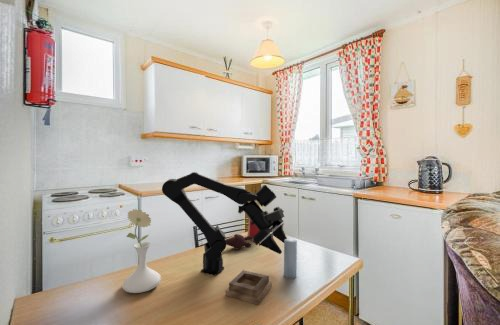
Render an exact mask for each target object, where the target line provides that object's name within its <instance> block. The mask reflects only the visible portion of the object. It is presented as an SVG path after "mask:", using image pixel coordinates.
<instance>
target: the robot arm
mask: <svg viewBox="0 0 500 325" xmlns="http://www.w3.org/2000/svg"><path fill="white" fill-rule="evenodd" d="M192 185H196V186H199V187H201V188H205V189H207V190H210V191H213V192H216V193H218V194H221V195H223V196H225V197H227V198H229V199H230V200H231V201H233V202H234V203H236V204H238V211H237V213H238V214H242V213H243V212H244V213H245V215H246V216H247V217H248V218H250V219H251V221H252V223H251V224H252V225H254V224H255V226H256V227H257V228H258V229H259V230H260V231H259V232H258V233H257V234H256V235H255V236H254V237H253V240H252V241H253V243H254V244H255V245H256V246H257V245H258V246H262V247H264V248H266V249H269V250H271V251H273V252H275V253H276V254H279V255H281V254H282V253H283V251H282V249H281V248H280V246H279V245H278V244H277V242H276V240H275V239H274V238H276V239H277V240H279V241H280V242H282V244H284V240H285V239H288V237H287V236H286V233H285V231H284V225H285V223H284V219H283V218H285V215H284V212H285V211H284V210H283V208H281V207H279V206H276V207H274V208H273V211H271V212H268V211H267V210H265V211H264V210H263V208H262V209H261V208H260V207H259V206H258V204H257V203H256V202H255V201H257V202H258V203H259V204H260V206H261V207H265V208H266V207H268V206H269V205H270V204H271V203H272V202H273V201H274V200H276V198H277V195H276V193H274V191H272V190H271V189H270V188H269V187H268V186H267V184H263V185H262V186H261V187H260V188H259V189H258V190H257V191H256V192H255V193H254V192H252V191H248V190H247V189H246V188H244V187H241V186H236V185H229V184H225V183H222V182H220V181H218V180H215V179H212V178H210V177H208V176H205V175H202V174H199V173H198V172H196V171H194V172H193V171H192V172H191V173H189V174H187V175H184V176H181V177H180V178H177V179H176V178H170V179H168V180H166V181H165V182H164V183H162V186H161V187H162V188H161V192H162V194H163V195H164V196H165V197H166V198H168V199H169V200H171V201H172V202H174V203H175V204H177V205H178V207H180V208H181V209H182V210H183V212H184V213H185V215H187V216H188V218H189V219H190V220H191V222H193V224H194V225H195V226H196V227H197V228H198V229H199V230H200V232H201V233H202V234H203V236H204V238H205V240H206V243H204V247H203V248H204V253H203V255H202V256H203V257H202V269H201V270H200V273H202V274H206V275H210V276H216V275H218V274H219V273H220V272H222V271H223V270H224V269H225V266H224V258H223V252H224V251H225V250H226V248H227V245H226V244H227V243H226V239H227V237H226V234H225V232H224V231H222V229H220V227H219V225H216V226H213V225H212V224H210V222H209V221H208V220H207V219H206V218H205V216H204V215H203V214H202V213H201V211H200V210H199V209H198V208H197V206H195V204H194V203H193V202H192V200H190V198H188V195H187V193H186V192H185V190H184V189H186V188H189V187H191V186H192Z"/></svg>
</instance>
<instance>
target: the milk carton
mask: <svg viewBox="0 0 500 325" xmlns="http://www.w3.org/2000/svg"><path fill="white" fill-rule="evenodd" d="M255 202H256V203H257V204H258V206H259V207H260V208H261V209H262V210H263V208H262V207H263V206H262V207H261V206H260V204H259V203H258V202H257V201H255ZM248 218H249V217H248ZM251 223H252V221H251V219H250V218H249V219H248V228H247V236H252V237H254V236H255V235H256V234H257V233H258V232H259V231H260V230H259V229H258V228H257V227H256V226H255V224H254V225H252V224H251ZM247 236H246V237H247ZM251 241H253V239H252V240H251Z"/></svg>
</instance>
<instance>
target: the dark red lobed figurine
mask: <svg viewBox="0 0 500 325" xmlns="http://www.w3.org/2000/svg"><path fill="white" fill-rule="evenodd" d="M252 239H253V237H252V236H245V237H244V235H242V234H237V233H235V234H233V236H232V237H229V238H225V240H226V243H227V244H226V246H229V247H232V248H234V249H235V251H236V250H240V249H242V248H244V247H246V248H251V247H252V243H250V242H251V241H253V240H252ZM249 241H250V242H249Z"/></svg>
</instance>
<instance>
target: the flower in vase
mask: <svg viewBox="0 0 500 325" xmlns="http://www.w3.org/2000/svg"><path fill="white" fill-rule="evenodd" d="M149 216H150V214H148V213H147V212H145V211H143V210H142V209H139V210H138V209H137V208H134V209H132V210H129V211H128V212H127V219H129V221H130V222H131V223H132V224H133V225H134V226H135V228H134V233H132V232H128V234H127V235H126V238H130V239H132V240H135V239H136V240H137V243H134V244H133V248H134V249H135V251H136V253H137V260H138V261H137V262H138V265H137V267H136V269H135V270H134V271H133V272H132V273H131V274H129V275H128V276H127V277H126V278H125V279H124V280H123V283H122V285H121V286H122V289H123V290H124V291H125V292H126V293H130V294H140V293H145V292H149V291H150V290H152V289H154V288H156V287H157V286H158V285H160V282H161V281H162V276H161V274H160V273H158V272H157V271H156V270H154V269H152V268H150V267H149V266H148V265H147V253H148V249H149V247H150V246H151V242H150V241H144V240H145V239H147V238H148V237H149V234H147V235H144V236H142V237H141V238H140V239H139V238H138V236H137V233H136V232H137V229H138V228H137V227H139V228H145V227H150V226H151V223H152V222H151V221H152V220H151V219H152V218H151V217H149Z"/></svg>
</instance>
